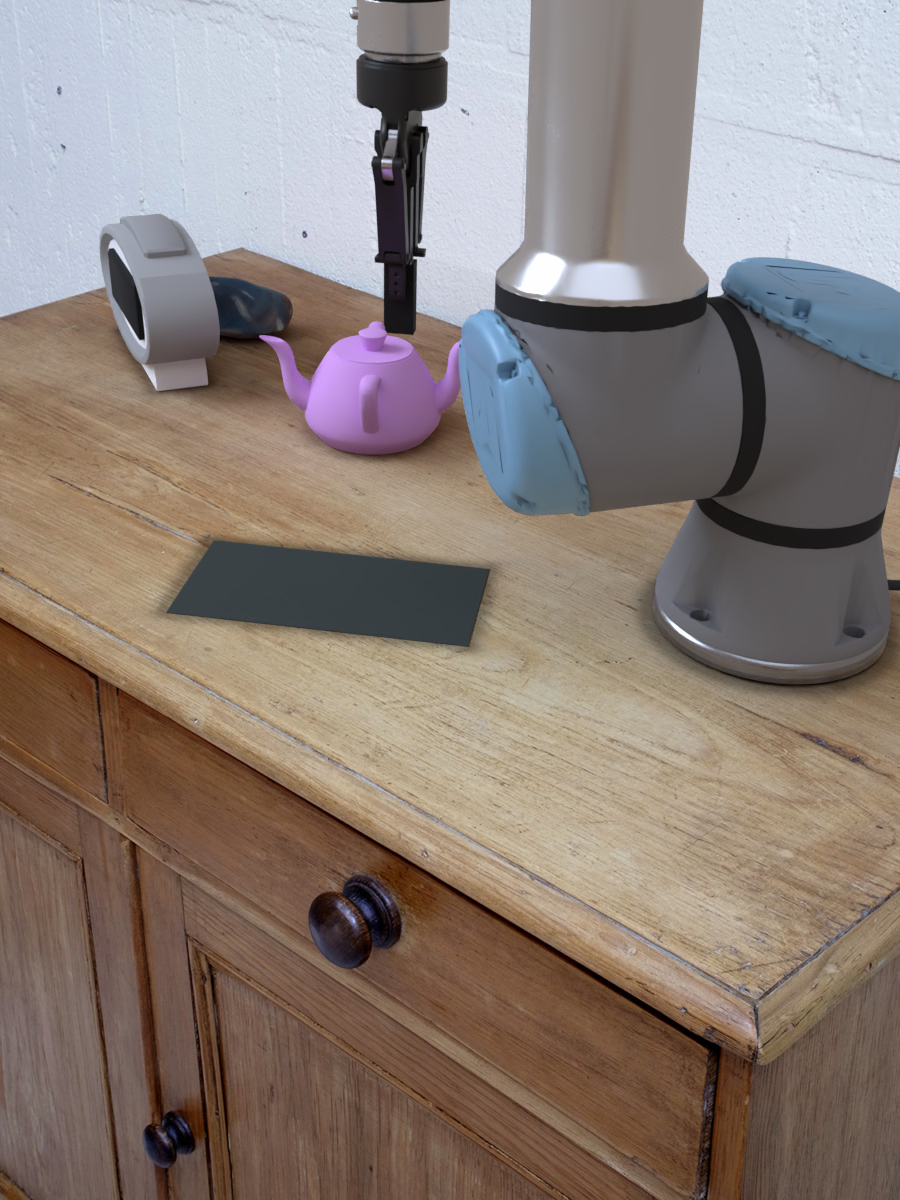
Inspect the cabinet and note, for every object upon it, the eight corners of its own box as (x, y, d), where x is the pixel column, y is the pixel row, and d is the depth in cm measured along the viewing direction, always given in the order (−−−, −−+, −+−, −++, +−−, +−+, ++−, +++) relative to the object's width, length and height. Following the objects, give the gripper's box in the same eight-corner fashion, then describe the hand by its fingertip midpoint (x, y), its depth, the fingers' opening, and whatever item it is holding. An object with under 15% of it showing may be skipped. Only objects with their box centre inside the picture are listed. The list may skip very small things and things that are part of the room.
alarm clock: (106, 320, 133) (91, 191, 126) (167, 313, 135) (156, 187, 128) (154, 406, 114) (140, 261, 108) (224, 397, 117) (214, 255, 110)
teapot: (478, 434, 111) (482, 334, 107) (348, 479, 103) (347, 373, 99) (389, 391, 119) (389, 295, 114) (262, 430, 111) (257, 329, 106)
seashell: (306, 312, 128) (260, 235, 131) (220, 338, 124) (175, 259, 127) (297, 351, 133) (254, 277, 136) (215, 377, 129) (172, 300, 132)
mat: (489, 571, 92) (489, 568, 92) (468, 649, 84) (468, 646, 83) (213, 542, 94) (213, 539, 94) (166, 615, 86) (166, 612, 86)
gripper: (374, 39, 113) (374, 304, 125) (338, 64, 102) (343, 352, 114) (460, 44, 112) (452, 311, 125) (433, 70, 101) (427, 360, 114)
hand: (399, 330), depth 120 cm, fingers closed
